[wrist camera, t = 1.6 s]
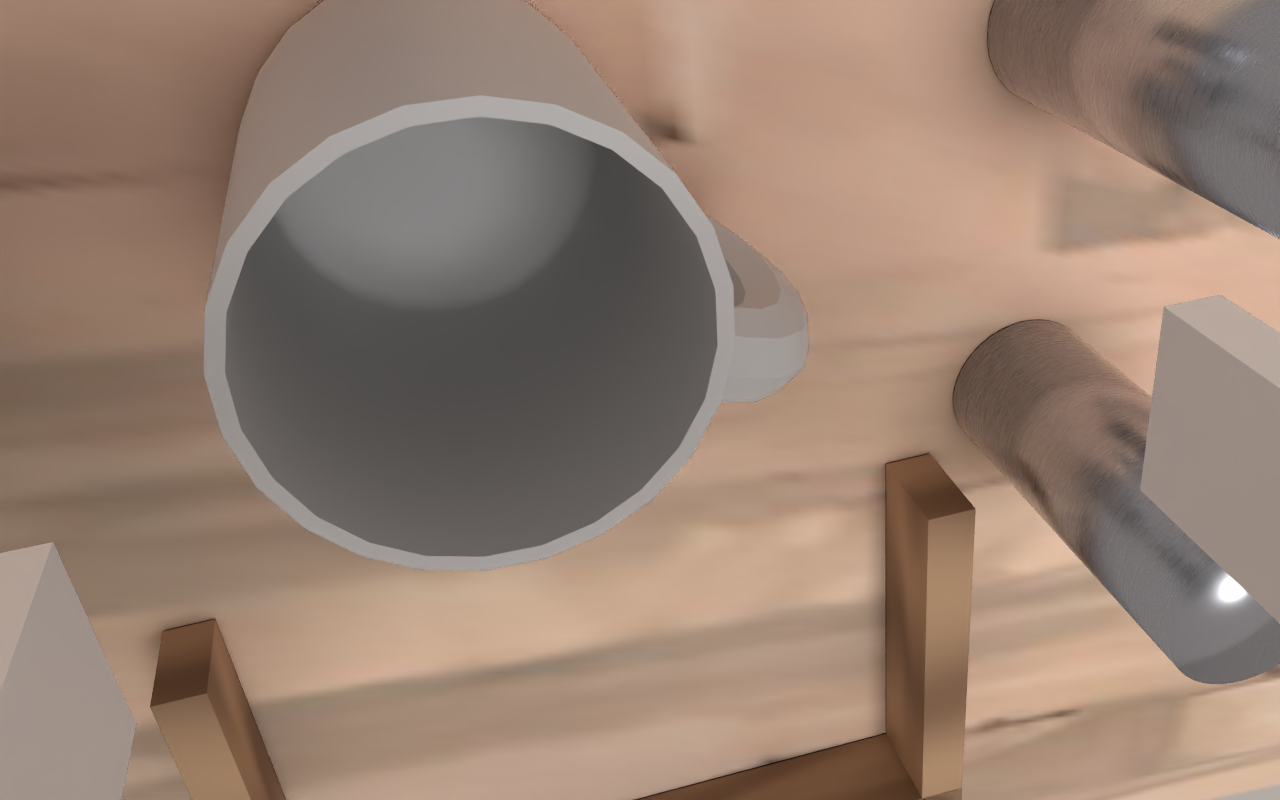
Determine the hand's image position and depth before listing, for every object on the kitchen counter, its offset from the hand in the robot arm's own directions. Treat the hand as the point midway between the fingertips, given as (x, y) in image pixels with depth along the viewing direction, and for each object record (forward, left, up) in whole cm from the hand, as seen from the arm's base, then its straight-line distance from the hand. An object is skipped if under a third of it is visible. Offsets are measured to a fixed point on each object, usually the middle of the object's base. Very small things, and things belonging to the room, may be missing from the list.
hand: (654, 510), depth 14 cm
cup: (0, 0, -12) cm, 12 cm away
